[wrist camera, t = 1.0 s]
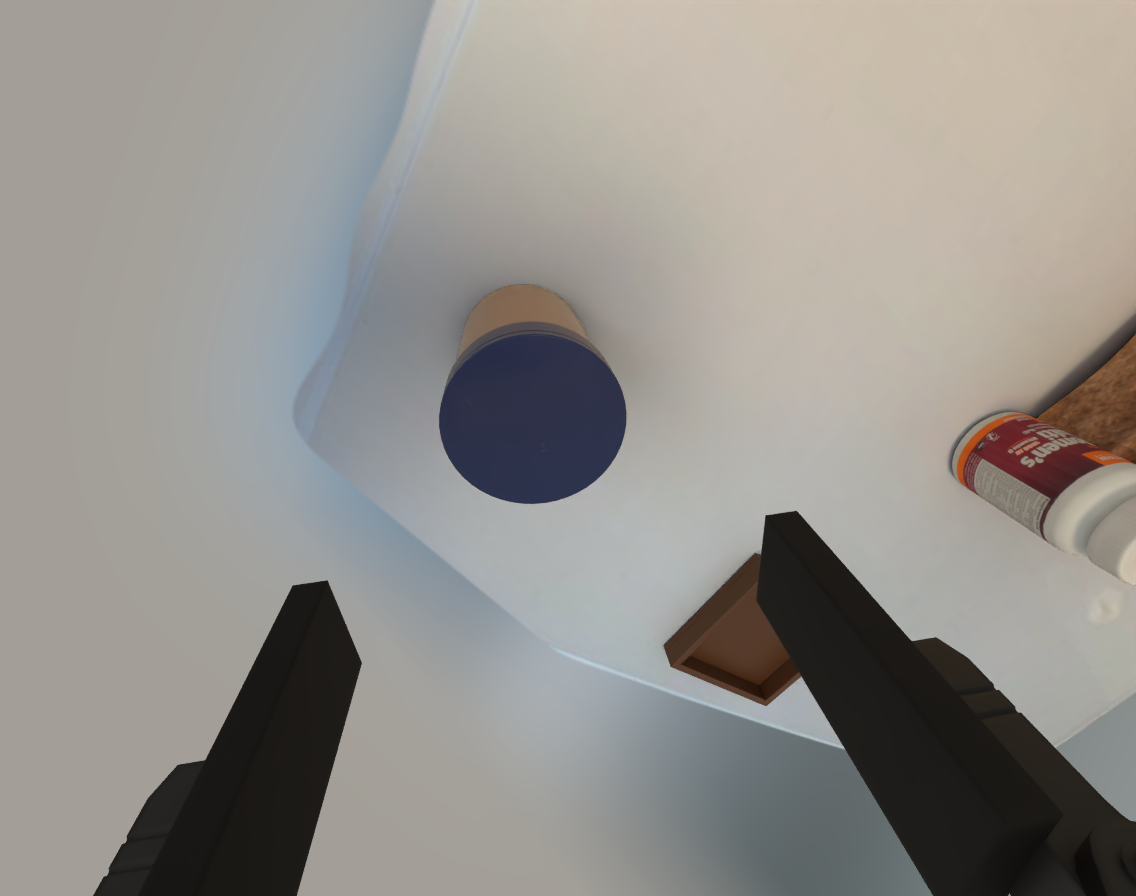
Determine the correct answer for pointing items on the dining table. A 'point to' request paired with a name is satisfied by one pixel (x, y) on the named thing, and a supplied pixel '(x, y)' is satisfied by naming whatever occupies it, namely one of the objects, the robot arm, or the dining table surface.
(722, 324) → the dining table surface
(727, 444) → the dining table surface
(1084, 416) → the bread
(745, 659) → the tray
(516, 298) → the jar
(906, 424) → the dining table surface
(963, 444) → the pill bottle
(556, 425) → the jar lid
